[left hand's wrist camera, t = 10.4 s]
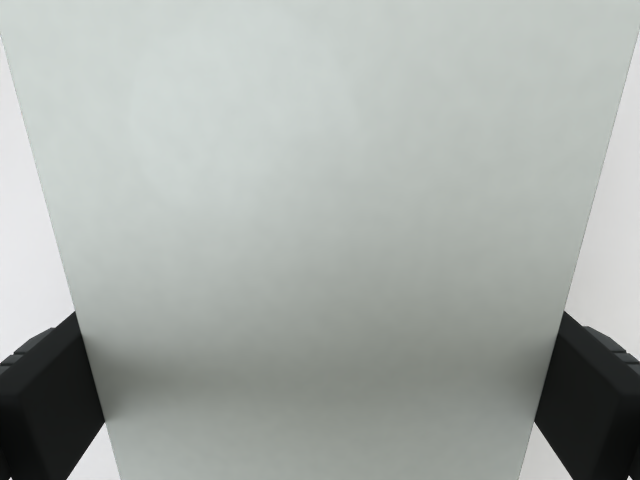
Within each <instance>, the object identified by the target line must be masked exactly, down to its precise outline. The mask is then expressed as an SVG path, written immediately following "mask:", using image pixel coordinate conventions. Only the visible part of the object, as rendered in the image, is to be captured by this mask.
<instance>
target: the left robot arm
mask: <svg viewBox="0 0 640 480" xmlns="http://www.w3.org/2000/svg"><path fill="white" fill-rule="evenodd" d="M534 422H535V423H536V425H537V426H538V428H539V429H540V431H541V432H542V434H543V435H544V437H545V438H546V440H547V441H548V443H549V444H550V446H551V447H552V449H553V450H554V452H555V453H556V455H557V456H558V458H559V459H560V461H561V462H562V464H563V465H564V467H565V468H566V470H567V471H568V473H569V474H570V476H571V477H572V479H573V480H627V478H628V476H630V477H631V478H632V480H640V362H639V361H638V360H637V359H636V358H634V357H633V356H632V355H631V354H629V353H626V350H625V349H623V348H622V347H621V346H620V345H618V344H617V343H616V342H615V341H613V340H612V339H611V338H610V337H608V336H606V335H604V334H602V333H600V332H598V331H596V330H595V329H593V328H591V327H589V326H581V325H580V324H579V323H578V322H577V321H576V320H574V319H573V318H572V317H571V316H570V315H569V314H567V313H566V312H565V311H564V312H563V315H562V319H561V323H560V326H559V330H558V334H557V338H556V341H555V345H554V349H553V352H552V356H551V360H550V364H549V367H548V371H547V375H546V378H545V382H544V386H543V390H542V393H541V397H540V401H539V404H538V408H537V412H536V416H535V419H534ZM104 423H105V419H104V415H103V412H102V408H101V404H100V401H99V397H98V393H97V389H96V386H95V382H94V378H93V375H92V371H91V367H90V364H89V360H88V356H87V353H86V349H85V345H84V341H83V338H82V334H81V330H80V327H79V323H78V319H77V316H76V312H75V311H74V312H73V313H72V314H71V315H70V316H69V317H67V318H66V319H65V320H64V321H63V322H62V323H60V324H59V325H58V326H57V327H56V328H50V329H48V330H46V331H44V332H42V333H40V334H38V335H37V336H35V337H33V338H31V339H29V340H28V341H27V342H26V343H24V344H23V345H22V346H21V347H20V348H18V349H17V350H16V351H15V352H14V354H13V355H10V356H9V357H7V358H6V359H5V360H4V361H2V362H1V363H0V480H9V479H10V477H12V480H66V479H67V478H68V476H69V475H70V473H71V472H72V470H73V469H74V467H75V466H76V464H77V463H78V462H79V460H80V459H81V457H82V456H83V454H84V453H85V451H86V450H87V448H88V447H89V445H90V444H91V442H92V441H93V439H94V438H95V436H96V435H97V433H98V432H99V430H100V429H101V427H102V426H103V424H104Z"/></svg>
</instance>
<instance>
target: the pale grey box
mask: <svg viewBox="0 0 640 480" xmlns="http://www.w3.org/2000/svg"><path fill="white" fill-rule="evenodd" d="M639 29H640V0H0V35H1V38H2V42H3V46H4V49H5V53H6V57H7V60H8V64H9V68H10V72H11V75H12V79H13V83H14V86H15V90H16V94H17V97H18V101H19V105H20V109H21V112H22V116H23V120H24V123H25V127H26V131H27V134H28V138H29V142H30V145H31V149H32V153H33V157H34V160H35V164H36V168H37V171H38V175H39V179H40V182H41V186H42V190H43V194H44V197H45V201H46V205H47V208H48V212H49V216H50V219H51V223H52V227H53V231H54V234H55V238H56V242H57V245H58V249H59V253H60V256H61V260H62V264H63V267H64V271H65V275H66V279H67V282H68V286H69V290H70V293H71V297H72V301H73V304H74V308H75V312H76V316H77V319H78V323H79V327H80V330H81V334H82V338H83V341H84V345H85V349H86V353H87V356H88V360H89V364H90V367H91V371H92V375H93V378H94V382H95V386H96V389H97V393H98V397H99V401H100V404H101V408H102V412H103V415H104V419H105V423H106V426H107V430H108V434H109V438H110V441H111V445H112V449H113V452H114V456H115V460H116V463H117V467H118V471H119V474H120V478H121V480H518V479H519V475H520V471H521V468H522V464H523V460H524V456H525V453H526V449H527V445H528V442H529V438H530V434H531V430H532V427H533V423H534V419H535V416H536V412H537V408H538V404H539V401H540V397H541V393H542V390H543V386H544V382H545V378H546V375H547V371H548V367H549V364H550V360H551V356H552V352H553V349H554V345H555V341H556V338H557V334H558V330H559V326H560V323H561V319H562V315H563V312H564V308H565V304H566V300H567V297H568V293H569V289H570V285H571V282H572V278H573V274H574V271H575V267H576V263H577V259H578V256H579V252H580V248H581V245H582V241H583V237H584V233H585V230H586V226H587V222H588V219H589V215H590V211H591V207H592V204H593V200H594V196H595V193H596V189H597V185H598V181H599V178H600V174H601V170H602V167H603V163H604V159H605V155H606V152H607V148H608V144H609V141H610V137H611V133H612V129H613V126H614V122H615V118H616V115H617V111H618V107H619V103H620V100H621V96H622V92H623V89H624V85H625V81H626V77H627V74H628V70H629V66H630V63H631V59H632V55H633V51H634V48H635V44H636V40H637V37H638V33H639Z"/></svg>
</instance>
